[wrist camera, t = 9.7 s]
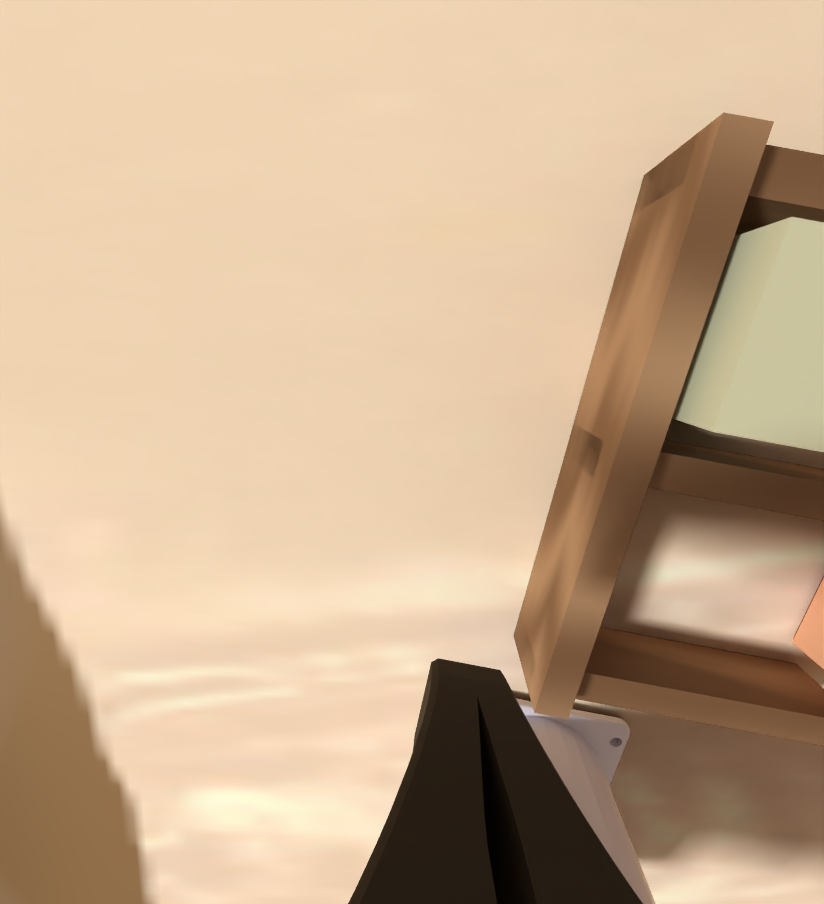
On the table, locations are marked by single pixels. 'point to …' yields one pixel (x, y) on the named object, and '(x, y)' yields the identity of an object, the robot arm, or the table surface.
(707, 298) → the walnut lane rack
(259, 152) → the table surface
